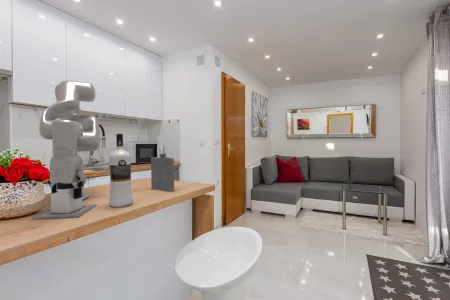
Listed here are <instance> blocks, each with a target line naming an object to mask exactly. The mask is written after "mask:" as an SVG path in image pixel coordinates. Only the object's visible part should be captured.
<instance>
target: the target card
mask: <svg viewBox="0 0 450 300" xmlns="http://www.w3.org/2000/svg"><path fill="white" fill-rule="evenodd" d="M97 205H98V204H82V208H81V209H78V210H76V211H73V212H71V213H51V208H50V209H48V210H46V211H44V212H42V213H41V214H38V215H36V216H33V217H32V218H31V220H32V219H38V220H52V219H53V220H54V219H55V220H57V219H74V218H76V219H77V218H80V217H82V216H83V215H85V214H86V213H88V212H90V211H91V210H92V209H94V208H96V207H97Z"/></svg>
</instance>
